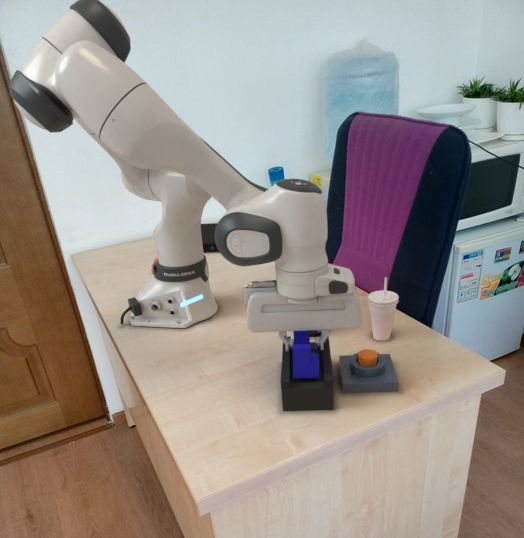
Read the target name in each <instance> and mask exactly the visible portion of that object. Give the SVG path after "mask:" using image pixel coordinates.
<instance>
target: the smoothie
mask: <svg viewBox="0 0 524 538" xmlns="http://www.w3.org/2000/svg"><path fill="white" fill-rule="evenodd" d="M399 299H400V296H399V295H398V293H397V292H394V291H391V290H388V277H386V276H385V277H384V281H383V289H381V290H374V291H372V292H370V293H369V294H368V295H367V303H368V305H369V313H370V323H371V330H372V332H371V333H372V338H373V339H374V340H377V341H388V340H389V339H391V334H392V329H393V324H394V320H395V315H396V310H397V304H398V303H399V302H400V301H399Z"/></svg>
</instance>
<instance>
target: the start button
mask: <svg viewBox="0 0 524 538" xmlns="http://www.w3.org/2000/svg"><path fill="white" fill-rule="evenodd" d="M357 353H358V363H359V364H360V365H363V366H373V365H376V364H377V355H378V354H377V353H378V352H377V351H376V350H373V349H368V348H367V349H362V350H359V351H358V352H357Z"/></svg>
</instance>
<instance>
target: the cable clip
mask: <svg viewBox="0 0 524 538" xmlns="http://www.w3.org/2000/svg"><path fill="white" fill-rule="evenodd" d="M293 341H294V344H293V378H319V356H318V353H310V342H311V337H310V330H309V331H293Z"/></svg>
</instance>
